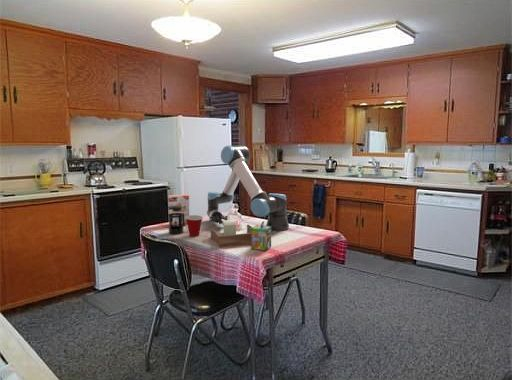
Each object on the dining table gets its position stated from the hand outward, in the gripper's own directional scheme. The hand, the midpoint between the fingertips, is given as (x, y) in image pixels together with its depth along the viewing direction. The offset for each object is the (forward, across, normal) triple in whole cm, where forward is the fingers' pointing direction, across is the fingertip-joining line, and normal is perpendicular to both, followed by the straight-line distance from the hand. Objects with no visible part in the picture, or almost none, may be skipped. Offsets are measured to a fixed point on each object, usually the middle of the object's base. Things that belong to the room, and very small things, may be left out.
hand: (224, 223), depth 233 cm
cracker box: (-32, +24, -6) cm, 41 cm away
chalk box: (+41, -10, -6) cm, 42 cm away
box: (+20, -1, -6) cm, 21 cm away
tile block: (+8, -1, -6) cm, 10 cm away
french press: (-10, +29, -6) cm, 31 cm away
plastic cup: (+2, +19, -6) cm, 20 cm away
